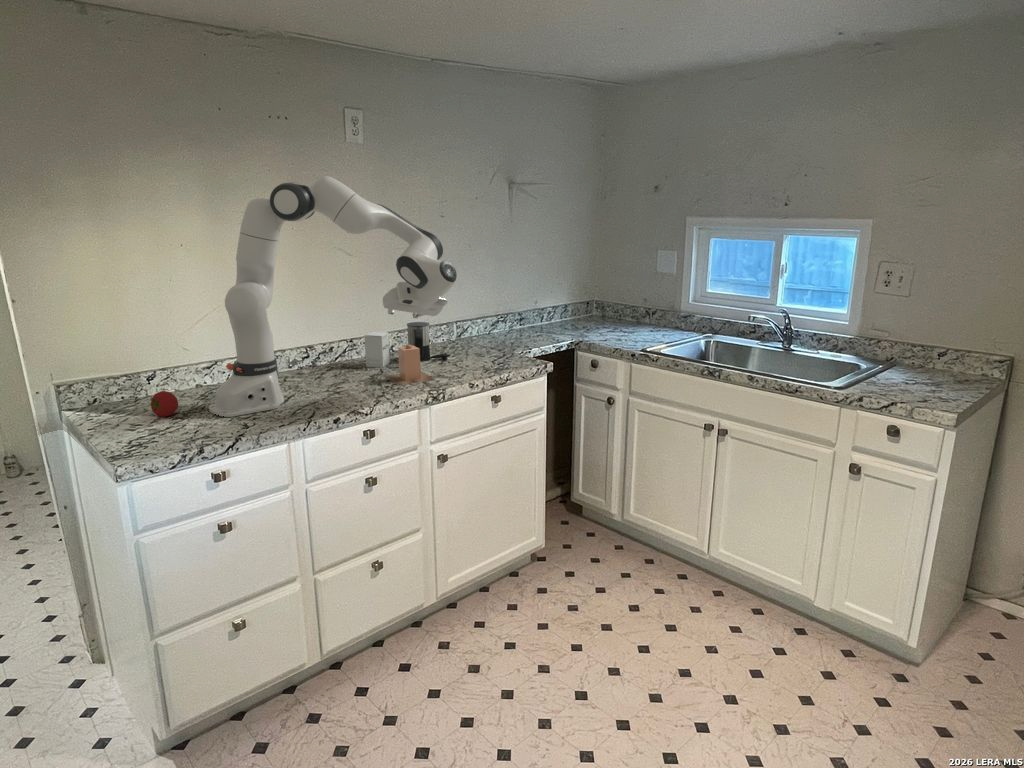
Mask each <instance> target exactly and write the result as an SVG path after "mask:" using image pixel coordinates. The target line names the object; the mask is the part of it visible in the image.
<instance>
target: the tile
mask: <svg viewBox="0 0 1024 768" xmlns="http://www.w3.org/2000/svg"><path fill="white" fill-rule="evenodd" d="M384 377H385V378H387V379H388V380H390V381H391V382H393V383H395V384H396V385H398V386H405V385H409V384H418V383H423V382H425V383H426V382H430V381H431V382H432V381H436V380H437V379H436V378H434V377H432V376H430V375H429V374H426V373H424V372H423V371H421V379H415V380H408V381H405V380H403V379H402V378H400V376H399V373H396V374H390V375H384Z"/></svg>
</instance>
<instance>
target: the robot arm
mask: <svg viewBox="0 0 1024 768" xmlns="http://www.w3.org/2000/svg"><path fill="white" fill-rule="evenodd" d="M315 212H318V213H321V214H322V215H324V216H325V217H327V218H328V219H329V220H330V221H332V222H333V223H334V224H335V225H337V226H338V227H339V228H340V229H341V230H343V231H345V232H347V233H349V234H353V235H360V234H365V233H367V232H369V231H373V230H377V229H378V230H380V229H381V230H387V231H389V233H390V232H391V233H392V234H393V235H395V236H396V237H398V238H400V239H401V240H402V241H405V242H406V243H407V244H408V246H407V248H406V249H405V250H403V252H402V253H401V254H400V256H399V257H398V258H397V259H396V261H395V262H396V263H395V267H396V271H397V273H398V275H399V276H400V278H401V279H402V280H403V281H399V282H398V283H396V287H393V288H391V289H390V290H388V292H386V293H385V294H384V295H383V297H382V305H383V308H384V309H386V310H387V314H388V315H394V314H395V313H396V312H395V311H401V312H406V313H411V314H412V318H413V319H419V318H420V317H423V316H430V317H436V316H438V315H440V313H441V312H442V310H443V309H444V306H446V305H447V304H448V300H447V298H445V297H443V296H444V295H445V294H447V293H448V292H449V291H450V290H451V289H452V287H453V286H454V284H455V282H456V281H457V274H458V273H457V269H456V268H455V266H454V265H453V263H452V262H451V261H449V260H441V258H442V257H443V254H444V247H443V244H442V242H441V240H440V239H439V237H437V236H436V235H435V234H433V233H431V232H430V231H428V230H425V229H423V228H421V227H419V226H417V225H416V224H414V223H412V222H411V221H410V220H408V219H406V218H405V217H403V216H402V215H400V214H399V213H397V212H395V211H394V210H392V209H390V208H388V206H385V205H382V204H380V203H374V202H372V201H370V200H369V201H368V200H367V199H365V198H364V197H361V195H359V194H358V193H356V192H355V191H354V190H353V189H351V188H350V187H349V186H348V185H345V183H343V182H341V181H339V180H337V178H336V179H335V178H334V177H331V176H329V175H325V176H324V175H323V176H321V177H319V178H318V179H317V180H315V181H314V182H313V184H312V185H310V186H307V185H305V184H301V183H299V182H283V183H280V184H279V185H277V186H275V187H274V188H273V189H272V190H271V193H270V196H269V199H268V198H262V197H261V198H259V197H257V198H253V199H251V200H250V201H249V202H248V203H247V205H246V207H245V210H244V213H243V217H242V219H241V223H240V229H239V235H238V240H237V241H238V242H237V249H236V255H235V256H236V257H235V260H236V280H235V285H233V286H232V287H230V288H229V289H228V291H227V293H226V294H225V297H224V307H225V310H226V312H227V314H228V315H227V316H228V319H229V322H230V326H231V329H232V332H233V336H234V343H235V350H236V351H235V352H236V359H237V360H236V362H235V363H234V364H233V363H230V362H228V363H227V364H226V366H225V368H226V369H227V370H229V371H232V375H230V377H228V378H227V380H225V381H224V382H223V384H221V385H220V386H219V387H218V388H217V389H216V393H215V403H213V404H210V405H209V406H208V411H209V412H210V413H211V414H213V415H215V414H216V415H215V416H218V415H219V416H220V417H223V416H224V417H225V418H226V417H227V418H231V417H232V418H233V417H237V416H242V415H243V416H244V415H248V414H252V413H259V412H264V411H269V410H275V409H278V408H279V407H280V405H281V404H283V403H284V402H285V397H284V395H283V393H282V390H281V389H282V388H281V386H280V382H279V379H278V378H279V377H278V372H279V371H278V362H277V358H276V357H275V348H274V337H273V333H272V330H271V328H270V327H271V326H270V323H269V319H268V313H267V309H268V308H269V307H270V305H271V303H272V300H273V293H274V292H273V291H274V284H275V283H274V281H275V265H276V259H277V254H278V253H277V252H278V247H279V241H280V235H281V230H282V227H283V224H284V223H285V222H301V221H304V220H307V219H310V218H311V217H312V216H313V215H314V214H315Z"/></svg>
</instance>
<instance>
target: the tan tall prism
mask: <svg viewBox="0 0 1024 768" xmlns="http://www.w3.org/2000/svg"><path fill="white" fill-rule="evenodd" d="M397 353H398V371H399V372H398V374H399V376H400V378H402V379H403V380H405V381H408V380H415V379H421V372H422V370H421V361H420V349H419V348H417V347H415V346H412V345H408V344H406V345H405V346H399V347H397Z"/></svg>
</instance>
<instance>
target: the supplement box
mask: <svg viewBox="0 0 1024 768" xmlns="http://www.w3.org/2000/svg"><path fill="white" fill-rule="evenodd" d="M389 336H390V335H389V332H387V331H384V332H383V331H370V332H369V333H367V334H364V336H363V337H364V339H363V340H364V351H365V353H364V355H365V357H364V358H365V367H368V368H384V367H387V366H388V365H389V364H390V363H391V359H390V340H389V338H390V337H389Z"/></svg>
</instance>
